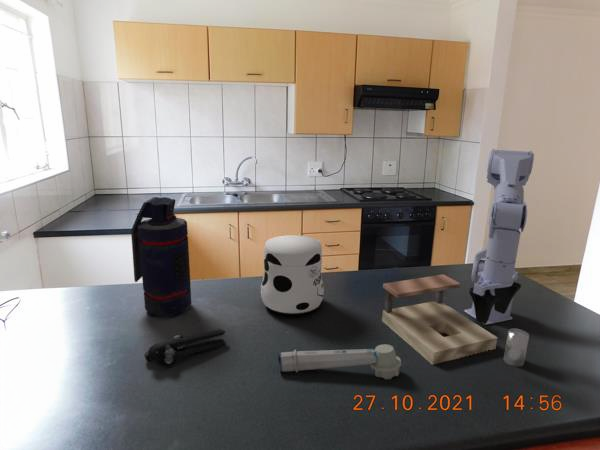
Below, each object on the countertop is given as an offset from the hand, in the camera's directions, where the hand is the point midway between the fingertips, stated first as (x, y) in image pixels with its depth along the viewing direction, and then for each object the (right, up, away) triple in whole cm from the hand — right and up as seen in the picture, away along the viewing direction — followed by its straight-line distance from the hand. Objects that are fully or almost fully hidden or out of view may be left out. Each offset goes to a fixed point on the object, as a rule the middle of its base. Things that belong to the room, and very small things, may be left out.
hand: (490, 316), depth 90 cm
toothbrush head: (-34, -11, -4) cm, 36 cm away
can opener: (-67, -9, 0) cm, 67 cm away
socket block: (-9, -7, +11) cm, 15 cm away
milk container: (-44, -2, +24) cm, 50 cm away
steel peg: (+5, -10, 0) cm, 11 cm away
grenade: (-78, -3, +20) cm, 81 cm away
